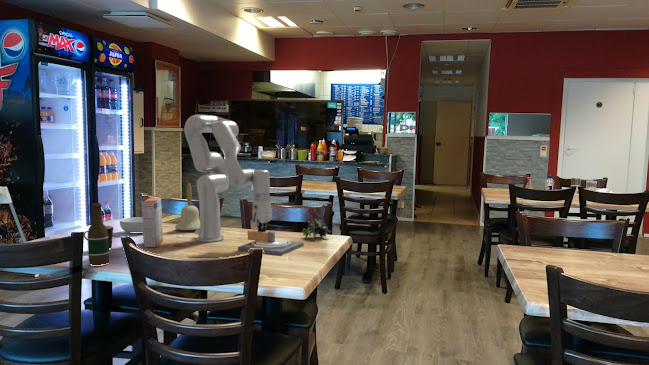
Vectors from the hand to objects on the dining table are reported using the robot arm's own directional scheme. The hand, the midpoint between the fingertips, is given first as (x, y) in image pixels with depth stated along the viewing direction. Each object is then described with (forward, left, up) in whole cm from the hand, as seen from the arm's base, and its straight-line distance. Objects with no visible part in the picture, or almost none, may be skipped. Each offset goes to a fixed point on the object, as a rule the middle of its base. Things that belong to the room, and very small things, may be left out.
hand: (262, 236), depth 228 cm
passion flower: (+16, +24, -4) cm, 29 cm away
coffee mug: (-59, -38, -4) cm, 71 cm away
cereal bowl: (-74, -2, -4) cm, 74 cm away
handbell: (-54, +15, -4) cm, 56 cm away
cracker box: (-46, -20, -4) cm, 50 cm away
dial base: (+7, -3, -4) cm, 9 cm away
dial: (+4, -3, -2) cm, 6 cm away
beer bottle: (-39, -56, -4) cm, 69 cm away
